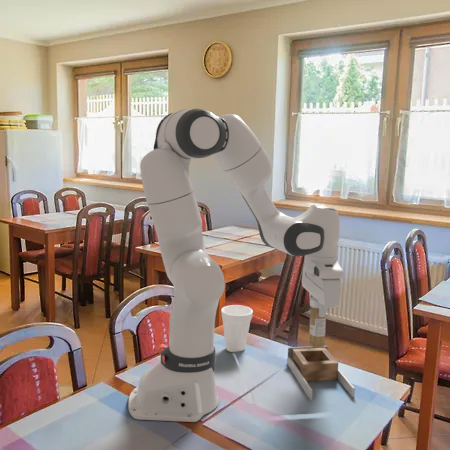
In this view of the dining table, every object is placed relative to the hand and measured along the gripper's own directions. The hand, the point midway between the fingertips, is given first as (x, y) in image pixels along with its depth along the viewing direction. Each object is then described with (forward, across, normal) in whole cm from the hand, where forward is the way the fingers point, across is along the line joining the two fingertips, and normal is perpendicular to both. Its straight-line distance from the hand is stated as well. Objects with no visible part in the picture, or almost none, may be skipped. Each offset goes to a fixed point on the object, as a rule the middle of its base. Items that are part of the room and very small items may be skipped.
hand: (317, 312), depth 134 cm
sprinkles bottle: (+10, 0, 0) cm, 10 cm away
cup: (+19, -19, -19) cm, 33 cm away
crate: (+18, 0, 0) cm, 18 cm away
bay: (+19, +4, 0) cm, 19 cm away
